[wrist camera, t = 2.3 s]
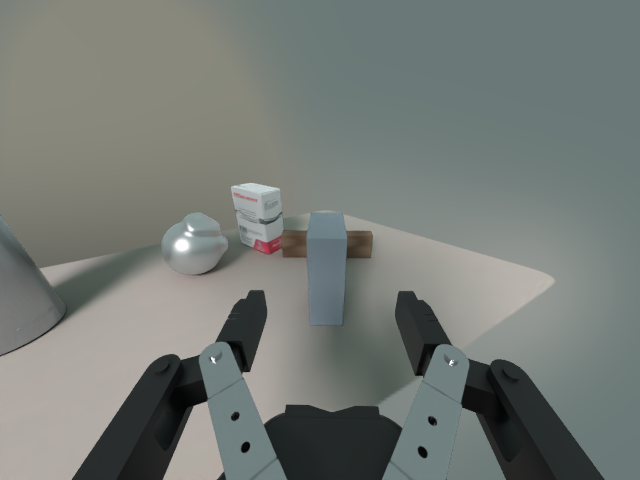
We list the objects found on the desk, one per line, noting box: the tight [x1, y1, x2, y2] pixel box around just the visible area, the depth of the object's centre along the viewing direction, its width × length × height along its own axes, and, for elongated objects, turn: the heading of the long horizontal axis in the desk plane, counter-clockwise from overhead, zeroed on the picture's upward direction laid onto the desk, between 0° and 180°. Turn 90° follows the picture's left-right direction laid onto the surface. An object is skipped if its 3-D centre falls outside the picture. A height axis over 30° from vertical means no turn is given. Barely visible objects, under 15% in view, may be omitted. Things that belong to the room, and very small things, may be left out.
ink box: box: [231, 183, 284, 254], centre depth 43 cm, size 8×5×12 cm, turn 54°
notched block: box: [306, 213, 347, 326], centre depth 28 cm, size 4×7×12 cm, turn 178°
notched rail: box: [281, 230, 373, 258], centre depth 41 cm, size 16×2×4 cm, turn 88°
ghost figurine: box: [161, 212, 228, 275], centre depth 36 cm, size 9×10×10 cm
